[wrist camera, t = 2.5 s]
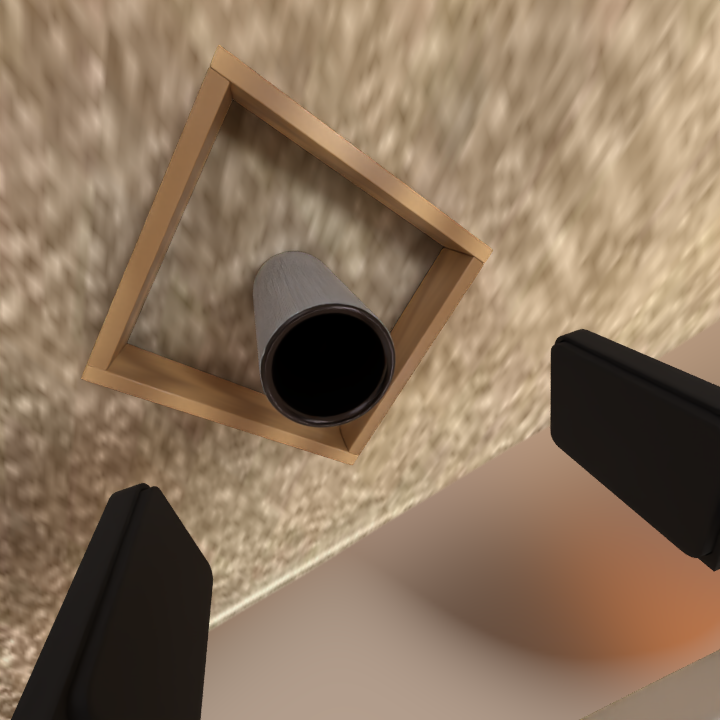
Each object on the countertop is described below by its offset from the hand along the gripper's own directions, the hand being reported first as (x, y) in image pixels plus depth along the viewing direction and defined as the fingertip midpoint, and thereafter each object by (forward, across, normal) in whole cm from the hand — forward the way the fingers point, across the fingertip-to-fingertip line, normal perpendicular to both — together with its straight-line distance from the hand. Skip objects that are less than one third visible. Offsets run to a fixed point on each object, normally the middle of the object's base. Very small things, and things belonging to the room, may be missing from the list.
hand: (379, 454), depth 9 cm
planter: (+15, 0, 0) cm, 15 cm away
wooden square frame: (+15, 0, 0) cm, 15 cm away
